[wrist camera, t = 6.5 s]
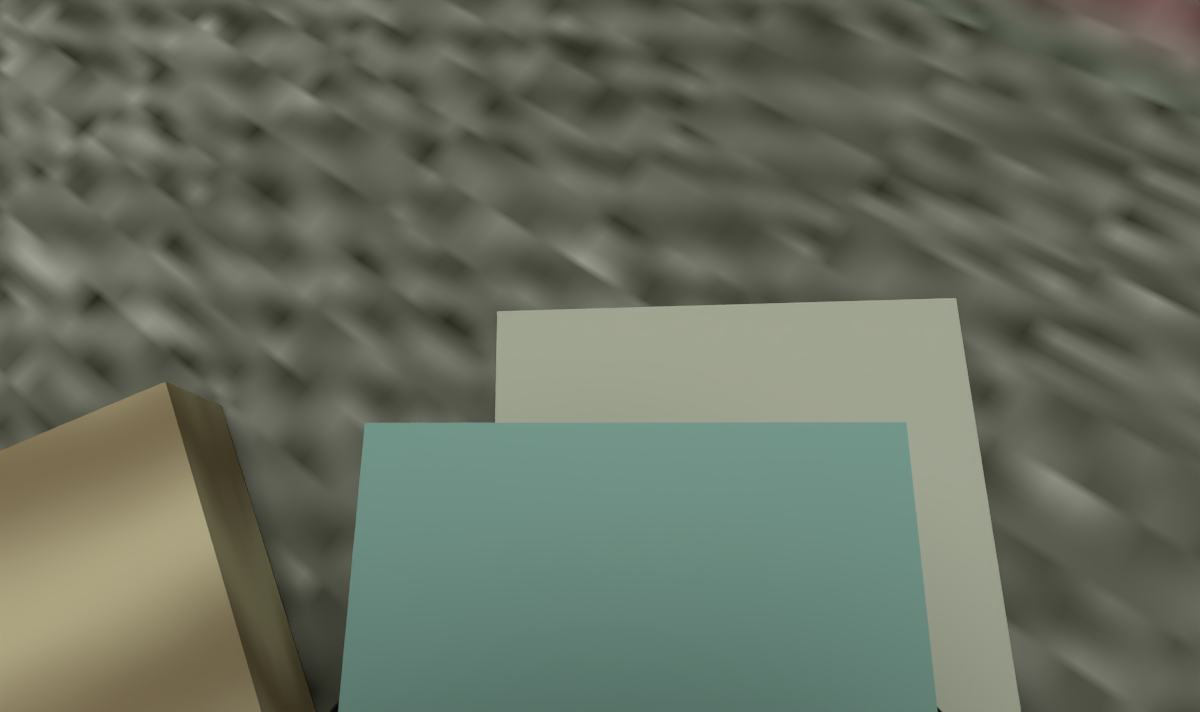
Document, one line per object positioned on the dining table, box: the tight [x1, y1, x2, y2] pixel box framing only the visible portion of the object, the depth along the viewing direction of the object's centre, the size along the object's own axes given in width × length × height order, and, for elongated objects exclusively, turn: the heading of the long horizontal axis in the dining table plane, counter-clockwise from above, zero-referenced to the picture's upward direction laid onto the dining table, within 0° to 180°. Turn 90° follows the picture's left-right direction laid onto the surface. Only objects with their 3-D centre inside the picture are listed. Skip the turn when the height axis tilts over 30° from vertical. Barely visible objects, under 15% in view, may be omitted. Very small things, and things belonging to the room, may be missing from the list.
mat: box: [495, 298, 1021, 712], centre depth 21 cm, size 20×14×1 cm
